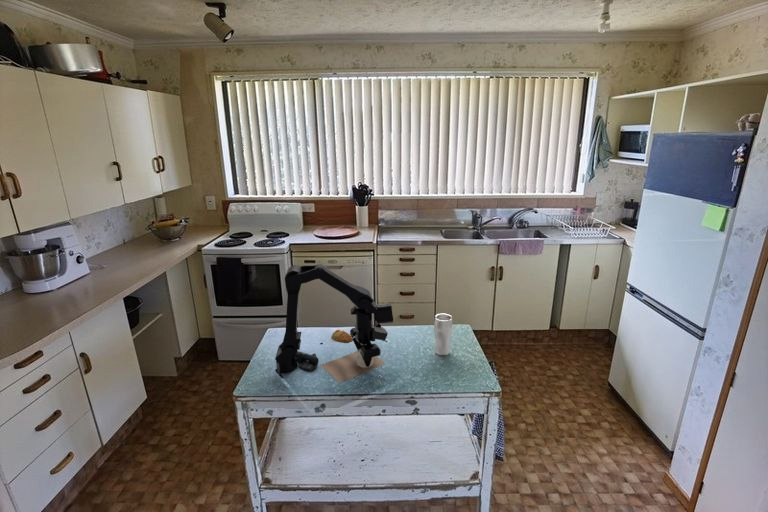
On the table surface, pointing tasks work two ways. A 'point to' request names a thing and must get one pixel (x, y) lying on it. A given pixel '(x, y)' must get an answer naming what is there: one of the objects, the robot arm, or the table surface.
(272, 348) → the table surface
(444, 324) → the white cylindrical vase
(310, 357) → the can opener
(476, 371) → the table surface
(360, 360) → the cap
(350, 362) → the board
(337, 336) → the pastry
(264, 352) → the table surface
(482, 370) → the table surface
